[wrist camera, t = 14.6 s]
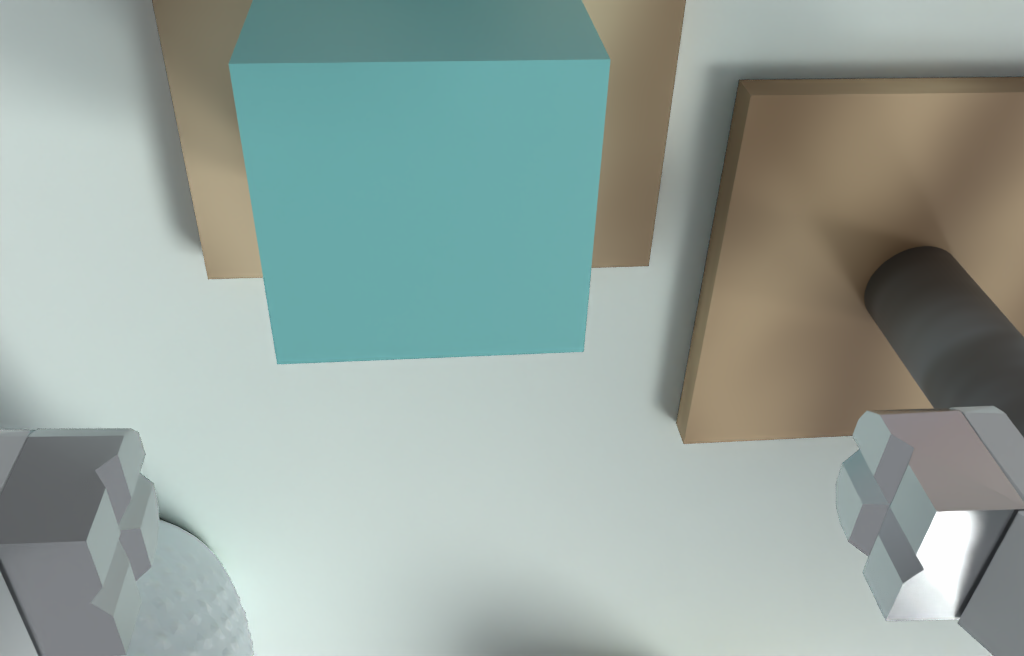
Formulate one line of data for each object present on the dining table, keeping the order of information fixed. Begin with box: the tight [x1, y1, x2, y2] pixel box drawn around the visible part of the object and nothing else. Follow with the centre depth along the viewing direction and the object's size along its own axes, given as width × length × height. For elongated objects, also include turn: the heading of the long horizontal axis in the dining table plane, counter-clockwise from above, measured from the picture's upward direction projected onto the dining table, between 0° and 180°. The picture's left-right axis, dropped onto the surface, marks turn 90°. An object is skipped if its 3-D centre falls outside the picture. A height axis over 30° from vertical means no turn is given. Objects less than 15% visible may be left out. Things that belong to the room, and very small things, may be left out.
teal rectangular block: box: [229, 0, 611, 364], centre depth 19 cm, size 6×6×7 cm
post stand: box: [676, 77, 1024, 444], centre depth 25 cm, size 12×12×9 cm
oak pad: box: [152, 0, 686, 279], centre depth 22 cm, size 12×12×1 cm
